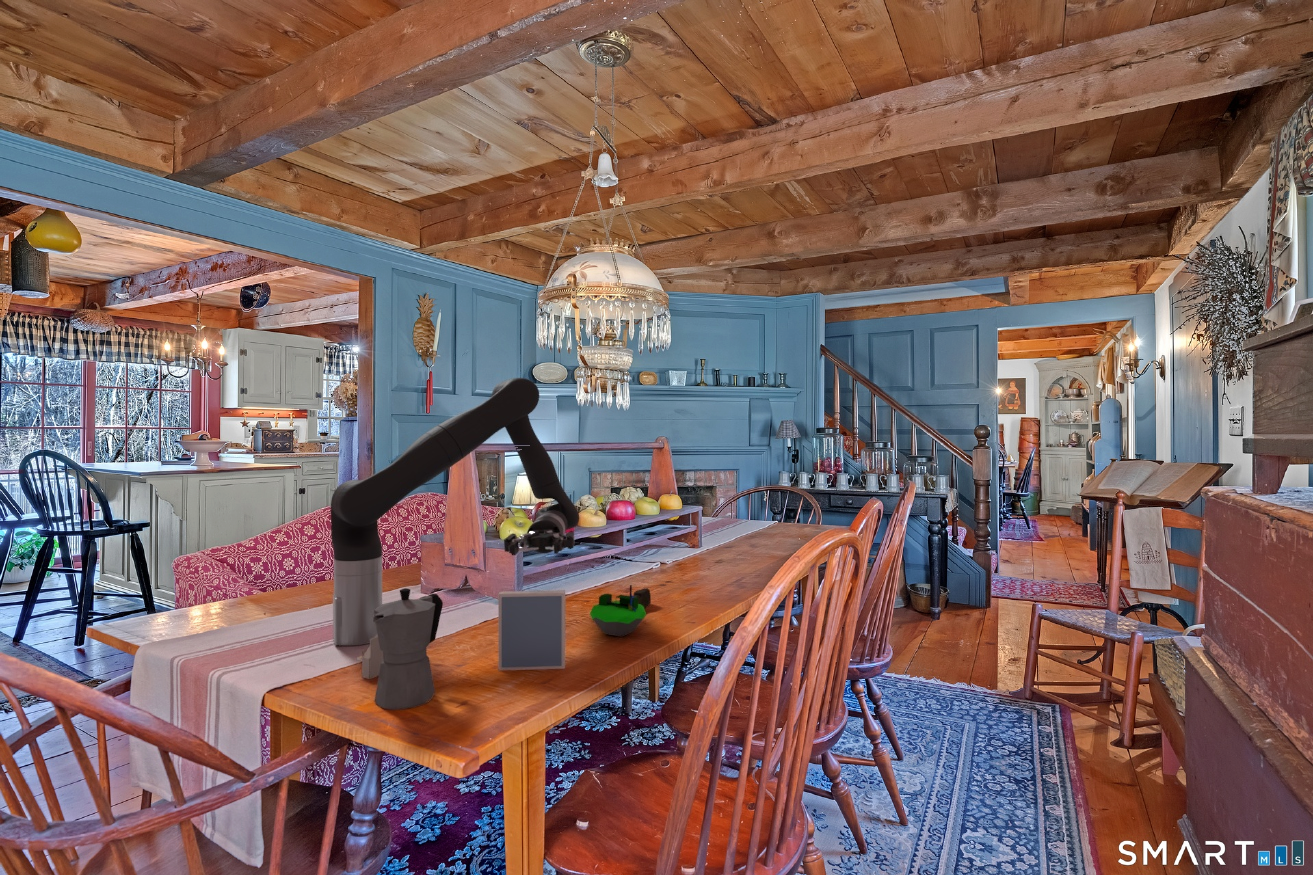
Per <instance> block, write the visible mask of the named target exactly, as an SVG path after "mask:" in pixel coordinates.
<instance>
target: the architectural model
mask: <svg viewBox="0 0 1313 875" xmlns="http://www.w3.org/2000/svg"><path fill="white" fill-rule="evenodd" d="M361 653H362V654H361V655H359V656H357V657H356V660H357V661H361V668H362V669H361V678H364V679H367V680H369V679H370V680H371V679H373V678H376V677H379V672H380V666H381V663H382V661H383V651H381V650H380V646H379V640H378V634H377V635H376V636H375V638H372V639H370V643H369V646H368V647H367V649H365V650H361Z"/></svg>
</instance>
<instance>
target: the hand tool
mask: <svg viewBox="0 0 1313 875" xmlns="http://www.w3.org/2000/svg"><path fill="white" fill-rule="evenodd" d="M632 596H634V597H638V604H641V605H642V606H644V609H646V608H648V607H649V606H650V604H651V602H652V599H651V598H652V597H651V596H652V595H651V592H650V589H649V588H648V587H647V588H642V589H638V590H635V591H633V595H632Z"/></svg>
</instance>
